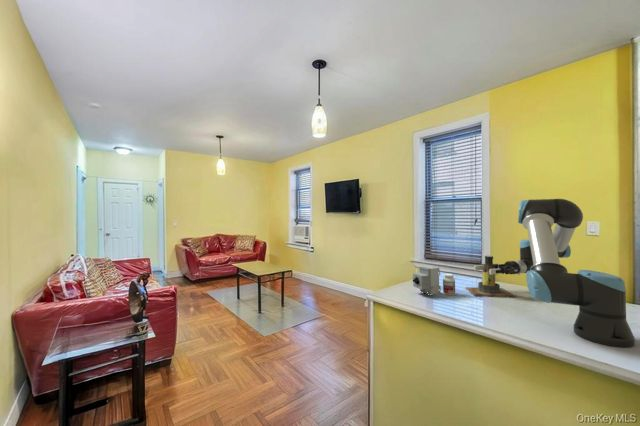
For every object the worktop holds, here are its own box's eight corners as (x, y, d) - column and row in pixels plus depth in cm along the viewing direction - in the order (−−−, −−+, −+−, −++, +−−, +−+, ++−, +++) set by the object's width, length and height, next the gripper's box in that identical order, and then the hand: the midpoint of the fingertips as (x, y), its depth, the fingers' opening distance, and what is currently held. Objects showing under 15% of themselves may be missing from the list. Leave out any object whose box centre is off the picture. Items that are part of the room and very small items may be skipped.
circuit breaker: (411, 293, 154) (410, 267, 155) (431, 290, 159) (430, 265, 159) (419, 296, 147) (418, 269, 147) (440, 294, 152) (440, 267, 152)
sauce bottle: (489, 293, 148) (489, 257, 147) (479, 289, 153) (479, 255, 153) (498, 291, 150) (497, 256, 149) (488, 288, 156) (487, 254, 155)
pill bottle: (447, 291, 156) (447, 272, 156) (457, 294, 150) (457, 274, 150) (440, 293, 153) (440, 274, 153) (450, 296, 147) (450, 276, 147)
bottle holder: (502, 290, 157) (502, 281, 157) (515, 297, 143) (515, 287, 143) (465, 289, 160) (465, 280, 160) (474, 296, 146) (474, 286, 146)
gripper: (534, 278, 144) (499, 281, 139) (497, 270, 166) (467, 272, 162) (533, 264, 144) (499, 266, 140) (497, 257, 166) (466, 259, 162)
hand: (482, 269), depth 151 cm, fingers open, 10 cm apart
